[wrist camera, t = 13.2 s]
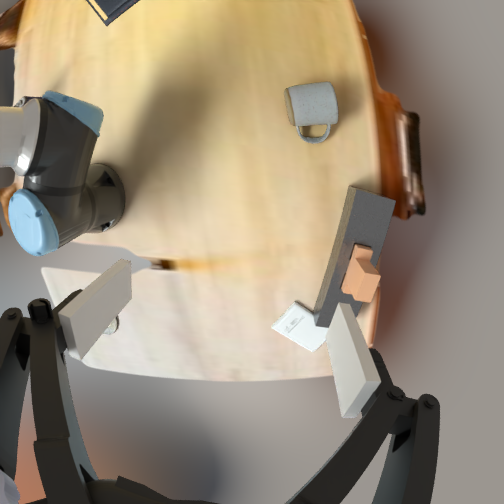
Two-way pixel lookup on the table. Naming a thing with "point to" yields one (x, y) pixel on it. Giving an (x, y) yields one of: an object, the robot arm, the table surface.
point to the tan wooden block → (361, 274)
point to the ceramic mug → (312, 107)
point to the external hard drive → (301, 327)
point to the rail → (349, 232)
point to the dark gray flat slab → (110, 8)
